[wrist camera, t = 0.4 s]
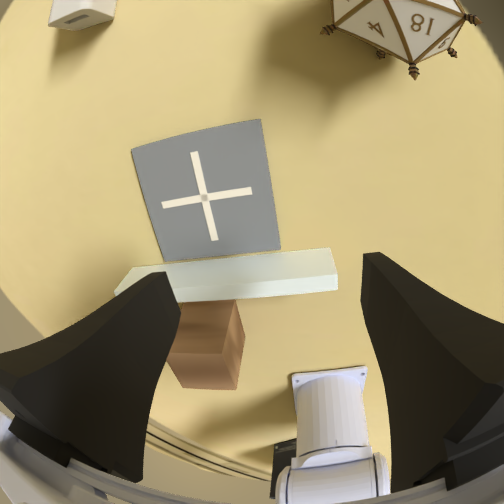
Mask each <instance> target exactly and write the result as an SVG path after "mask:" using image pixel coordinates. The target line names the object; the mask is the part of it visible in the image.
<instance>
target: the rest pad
mask: <svg viewBox="0 0 504 504" xmlns="http://www.w3.org/2000/svg"><path fill="white" fill-rule="evenodd" d="M131 151H132V155H133V159H134V163H135V167H136V170H137V174H138V178H139V181H140V185H141V188H142V192H143V195H144V199H145V202H146V205H147V209H148V212H149V215H150V218H151V222H152V225H153V228H154V231H155V234H156V237H157V240H158V243H159V246H160V249H161V252H162V255H163V258H164V260H165V261H175V260H184V259H194V258H203V257H213V256H222V255H232V254H242V253H251V252H261V251H270V250H280V249H281V245H280V238H279V231H278V224H277V217H276V211H275V204H274V197H273V191H272V185H271V178H270V172H269V166H268V160H267V154H266V148H265V142H264V137H263V131H262V125H261V120H260V119H256V120H250V121H244V122H238V123H233V124H228V125H223V126H218V127H213V128H208V129H204V130H199V131H195V132H191V133H187V134H182V135H179V136H175V137H171V138H167V139H163V140H160V141H156V142H153V143H149V144H146V145H143V146H140V147H136V148H133V149H131Z"/></svg>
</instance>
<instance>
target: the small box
mask: <svg viewBox="0 0 504 504" xmlns="http://www.w3.org/2000/svg"><path fill="white" fill-rule="evenodd" d="M296 451H297V439H294V440H291V441H287V442H283V443H278V444H275V445H274V457H273V469H272V480H271V490H270V491H271V492H270V498H271V499H275V491H276V483H277V479H278V476H279V474H280V473H281V472H282V471H283V469H284V468H285V467H286V466H291V461H292V458H296Z"/></svg>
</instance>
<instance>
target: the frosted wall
mask: <svg viewBox="0 0 504 504" xmlns="http://www.w3.org/2000/svg"><path fill="white" fill-rule="evenodd" d="M163 271H166V273H167V276H168V279H169V282H170V284H171V287H172V290H173V293H174V295H175V298H176V301H177V302H195V301H214V300H230V299H244V298H258V297H270V296H282V295H293V294H303V293H313V292H323V291H332V290H338V274H337V270H336V267H335V263H334V260H333V256H332V253H331V250H330V247H327V248H317V249H308V250H298V251H289V252H279V253H270V254H260V255H250V256H241V257H231V258H221V259H211V260H202V261H192V262H182V263H172V264H162V265H152V266H142V267H133V268H132V269H131V270H130V271H129V273H128V274H127V275H126V276H125V278H124V279H123V280H122V281H121V283H120V284H119V285H118V287H117V288H116V289H115V290H114V293H115V295H116V296H117V295H119V294H120V293H121V292H123V291H124V290H125V289H127V288H128V287H130V286H131V285H133V284H134V283H135V282H137V281H138V280H140V279H141V278H143V277H145V276H146V275H148V274H150V273H152V272H163Z"/></svg>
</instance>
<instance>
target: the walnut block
mask: <svg viewBox="0 0 504 504" xmlns="http://www.w3.org/2000/svg"><path fill="white" fill-rule="evenodd" d="M180 311H181V317H180V321H179V326H178V329H177V333H176V336H175V339H174V342H173V344H172V347H171V349H170V352H169V354H168V357H167V359H166V360H167V362H168V364H169V366H170V367H171V369H172V371H173V372H174V374H175V376H176V377H177V379H178V381H179V382H180V384H181V386H182V387H183V388H193V389H212V390H236V389H237V383H238V377H239V371H240V365H241V359H242V353H243V347H244V341H245V334H244V330H243V326H242V323H241V319H240V315H239V312H238V308H237V304H236V300H235V299H230V300H214V301H195V302H184V304H183V306H182V308H181V310H180Z"/></svg>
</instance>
